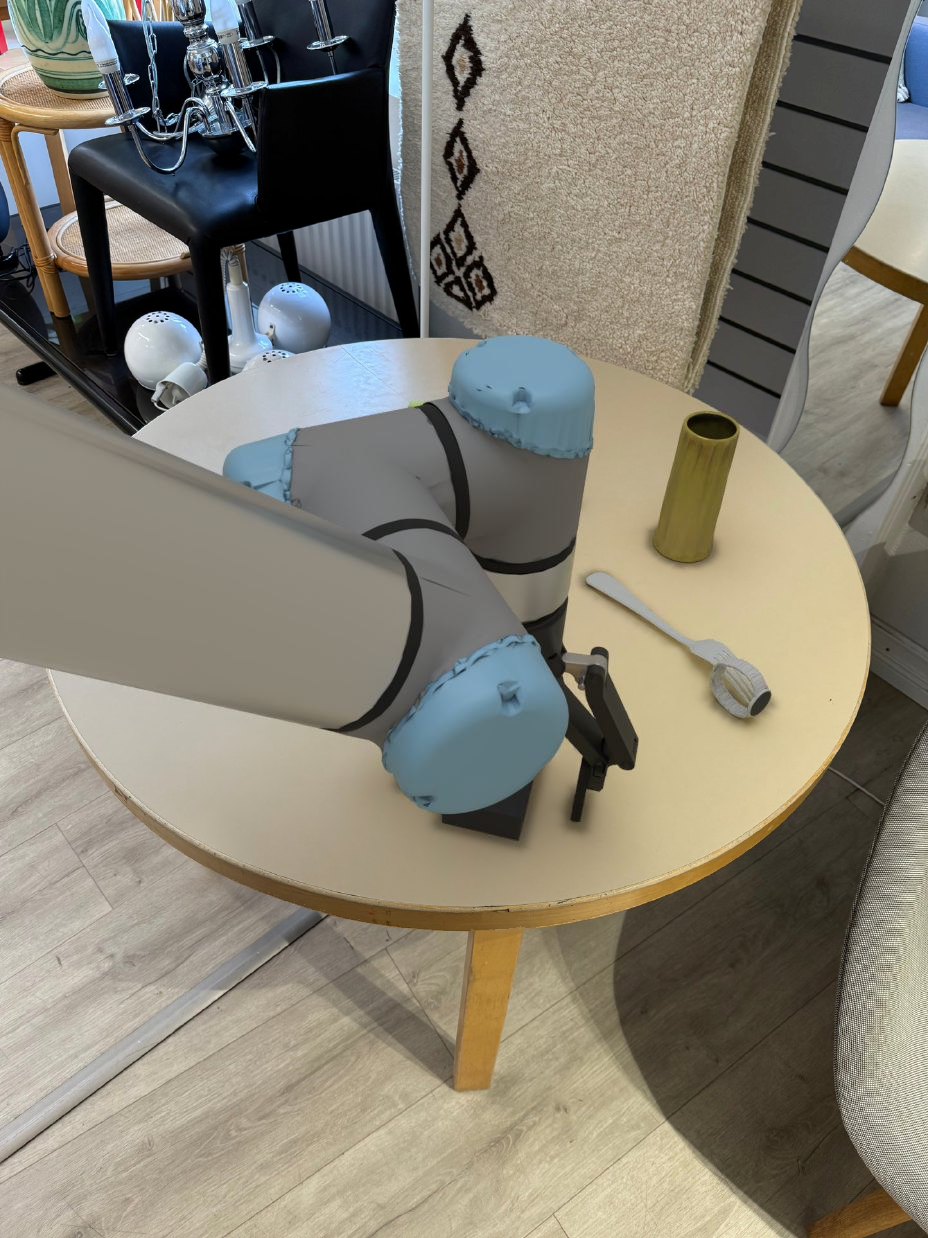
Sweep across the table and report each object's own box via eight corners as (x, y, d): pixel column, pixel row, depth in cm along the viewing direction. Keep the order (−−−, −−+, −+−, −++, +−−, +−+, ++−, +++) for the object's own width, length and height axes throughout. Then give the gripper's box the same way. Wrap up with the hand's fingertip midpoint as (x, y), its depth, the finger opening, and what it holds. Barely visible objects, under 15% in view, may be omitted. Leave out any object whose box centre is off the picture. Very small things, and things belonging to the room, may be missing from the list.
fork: (599, 589, 92) (600, 567, 90) (770, 698, 79) (776, 674, 77) (579, 601, 90) (580, 578, 89) (750, 713, 77) (755, 689, 76)
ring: (742, 732, 76) (758, 693, 72) (699, 695, 79) (711, 655, 75) (765, 717, 77) (781, 677, 74) (721, 681, 80) (735, 641, 77)
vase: (713, 532, 95) (747, 413, 85) (709, 568, 91) (743, 448, 81) (656, 521, 96) (682, 402, 86) (648, 556, 92) (675, 436, 82)
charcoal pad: (441, 822, 69) (442, 800, 67) (467, 742, 74) (468, 719, 72) (518, 841, 68) (521, 818, 66) (539, 758, 73) (542, 735, 71)
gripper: (714, 584, 57) (656, 783, 72) (340, 516, 61) (358, 718, 76) (707, 669, 52) (646, 865, 66) (298, 589, 56) (326, 790, 70)
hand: (493, 787), depth 71 cm, fingers open, 13 cm apart
